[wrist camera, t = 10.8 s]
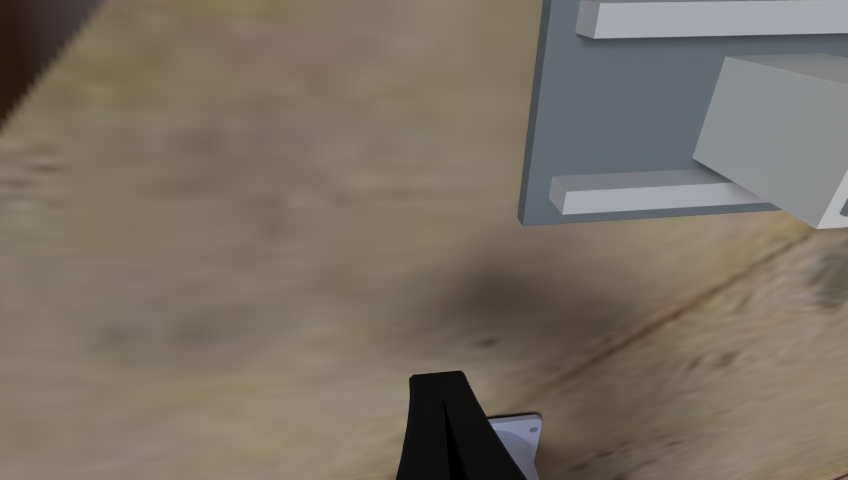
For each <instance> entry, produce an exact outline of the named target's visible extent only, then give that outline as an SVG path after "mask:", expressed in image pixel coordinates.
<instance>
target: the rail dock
mask: <svg viewBox="0 0 848 480" xmlns="http://www.w3.org/2000/svg"><path fill="white" fill-rule="evenodd" d="M812 53H825V54H831V55H836V56H842V57H848V0H543V8H542V16H541V25H540V33H539V41H538V50H537V58H536V66H535V75H534V83H533V91H532V100H531V108H530V116H529V125H528V133H527V142H526V150H525V158H524V167H523V175H522V183H521V192H520V200H519V208H518V217H517V218H518V219H519V221H520V222H521V224H522V226H532V225H548V224H564V223H581V222H597V221H613V220H629V219H645V218H661V217H678V216H694V215H710V214H726V213H742V212H758V211H774V210H782V209H780V208H779V207H777V206H775V205H773V204H772V203H770V202H768V201H766V200H765V199H763V198H761V197H759V196H758V195H756V194H754V193H752V192H751V191H749V190H747V189H745V188H744V187H742V186H740V185H738V184H737V183H735V182H733V181H731V180H730V179H728V178H726V177H724V176H723V175H721V174H719V173H717V172H716V171H714V170H712V169H710V168H709V167H707V166H705V165H703V164H702V163H700V162H698V161H696V160H695V159H693V158H692V157H693V154H694V151H695V148H696V145H697V142H698V139H699V136H700V133H701V130H702V127H703V124H704V121H705V117H706V114H707V111H708V108H709V105H710V102H711V99H712V96H713V93H714V90H715V87H716V84H717V81H718V78H719V75H720V72H721V68H722V65H723V62H724V59H725V56H748V55H780V54H812Z"/></svg>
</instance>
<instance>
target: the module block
mask: <svg viewBox="0 0 848 480" xmlns="http://www.w3.org/2000/svg"><path fill="white" fill-rule="evenodd" d="M692 158H693V159H695V160H696V161H698V162H700V163H702V164H703V165H705V166H707V167H709V168H710V169H712V170H714V171H716V172H717V173H719V174H721V175H723V176H724V177H726V178H728V179H730V180H731V181H733V182H735V183H737V184H738V185H740V186H742V187H744V188H745V189H747V190H749V191H751V192H752V193H754V194H756V195H758V196H759V197H761V198H763V199H765V200H766V201H768V202H770V203H772V204H773V205H775V206H777V207H779V208H780V209H782V210H784V211H786V212H787V213H789V214H791V215H793V216H794V217H796V218H798V219H800V220H801V221H803V222H805V223H807V224H808V225H810V226H812V227H814V228H815V229H824V228H839V227H848V57H842V56H836V55H831V54H825V53H812V54H780V55H748V56H725V59H724V62H723V65H722V68H721V72H720V75H719V78H718V81H717V84H716V87H715V90H714V93H713V96H712V99H711V102H710V105H709V108H708V111H707V114H706V117H705V121H704V124H703V127H702V130H701V133H700V136H699V139H698V142H697V145H696V148H695V151H694V154H693V157H692Z"/></svg>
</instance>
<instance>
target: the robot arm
mask: <svg viewBox="0 0 848 480" xmlns="http://www.w3.org/2000/svg"><path fill="white" fill-rule="evenodd" d="M409 386H410V403H409V413H408V421H407V428H406V434H405V439H404V445H403V450H402V455H401V460H400V464H399V468H398V473H397V477H396V480H539V477H538V474H537V471H536V468H535V465H534V460H535V455H536V451H537V446H538V441H539V437H540V432H541V427H542V420H541V417H540V416H538V415H525V416H516V417H506V418H496V419H487V417H486V415H485V413H484V412H483V410H482V408H481V406H480V405H479V403H478V401H477V399H476V397H475V395H474V393H473V391H472V389H471V387H470V385H469V383H468V381H467V379H466V376H465V374H464V373H463V372H462V371H450V372H439V373H429V374H418V375H413V376H412V377H410V378H409Z"/></svg>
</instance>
